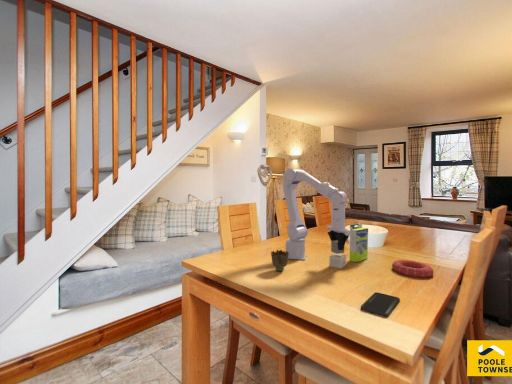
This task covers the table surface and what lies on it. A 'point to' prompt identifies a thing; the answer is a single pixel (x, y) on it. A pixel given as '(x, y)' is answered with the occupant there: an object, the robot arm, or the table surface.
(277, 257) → the cup
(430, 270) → the torus
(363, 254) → the box
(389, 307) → the phone
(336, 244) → the charcoal block
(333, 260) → the small box
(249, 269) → the table surface
